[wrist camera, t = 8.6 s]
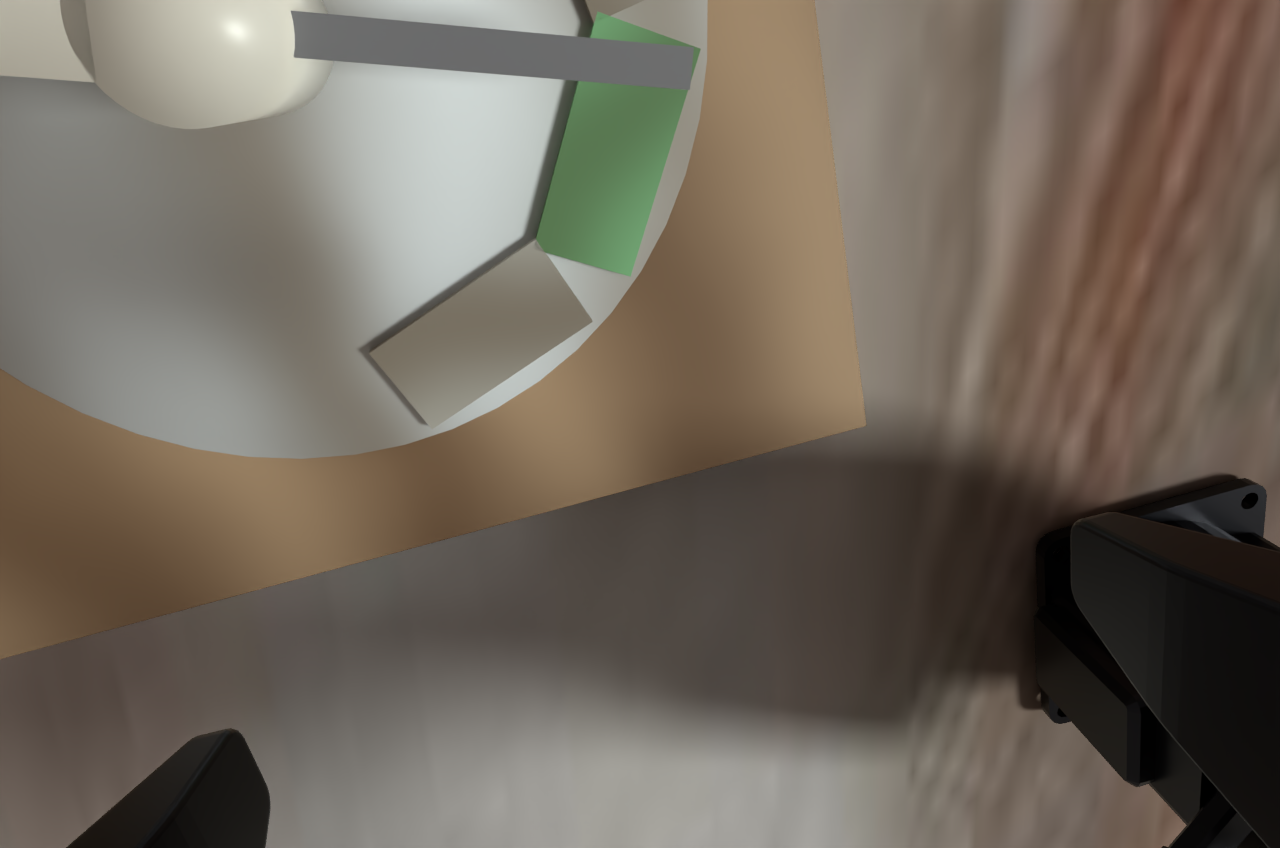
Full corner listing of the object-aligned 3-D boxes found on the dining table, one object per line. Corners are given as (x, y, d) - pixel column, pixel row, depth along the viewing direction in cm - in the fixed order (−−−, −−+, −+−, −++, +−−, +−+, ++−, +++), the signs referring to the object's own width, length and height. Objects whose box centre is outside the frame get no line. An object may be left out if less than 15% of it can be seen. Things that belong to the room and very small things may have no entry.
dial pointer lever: (660, -7, 16) (714, -35, 12) (648, 143, 17) (695, 163, 13) (-557, -130, 13) (-1020, -222, 9) (-486, 63, 13) (-879, 56, 10)
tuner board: (674, -858, 13) (703, -1006, 11) (842, 403, 21) (874, 432, 20) (-734, -613, 12) (-952, -737, 10) (24, 622, 20) (-23, 675, 18)
